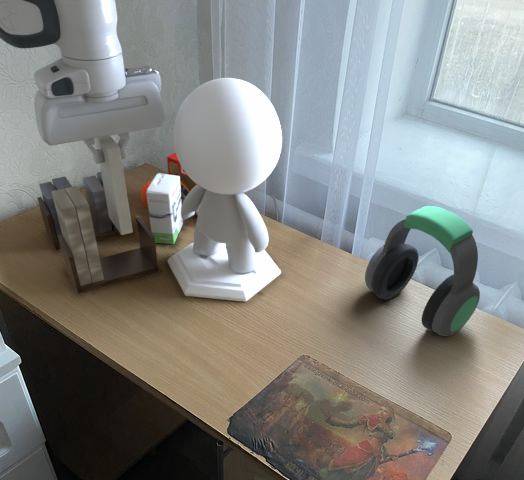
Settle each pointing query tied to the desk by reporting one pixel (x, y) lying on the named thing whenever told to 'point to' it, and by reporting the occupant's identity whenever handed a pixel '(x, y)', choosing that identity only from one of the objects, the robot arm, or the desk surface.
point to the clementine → (143, 193)
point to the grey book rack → (95, 201)
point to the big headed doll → (225, 188)
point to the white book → (114, 184)
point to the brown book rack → (85, 246)
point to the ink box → (165, 207)
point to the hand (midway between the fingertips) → (109, 160)
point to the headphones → (406, 259)
